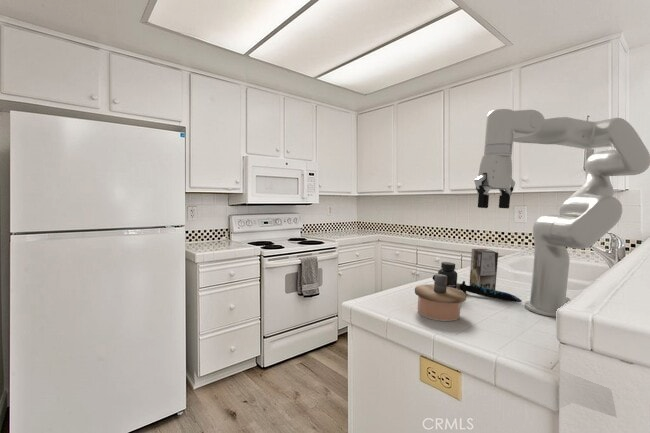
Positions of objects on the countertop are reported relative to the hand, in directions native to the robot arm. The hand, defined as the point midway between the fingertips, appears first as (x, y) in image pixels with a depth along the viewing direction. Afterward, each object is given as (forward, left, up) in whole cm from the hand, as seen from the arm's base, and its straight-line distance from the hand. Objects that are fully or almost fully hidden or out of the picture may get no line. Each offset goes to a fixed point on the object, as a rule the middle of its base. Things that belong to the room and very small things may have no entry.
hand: (493, 208), depth 101 cm
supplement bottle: (-2, -18, -34) cm, 38 cm away
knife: (-12, -14, -34) cm, 38 cm away
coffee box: (-20, -17, -34) cm, 43 cm away
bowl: (+15, -5, -33) cm, 37 cm away
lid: (+15, -5, -27) cm, 32 cm away
